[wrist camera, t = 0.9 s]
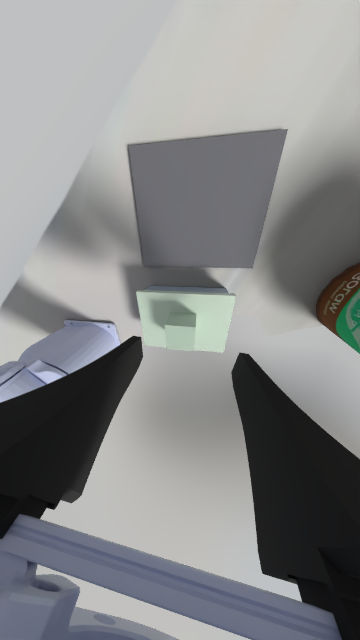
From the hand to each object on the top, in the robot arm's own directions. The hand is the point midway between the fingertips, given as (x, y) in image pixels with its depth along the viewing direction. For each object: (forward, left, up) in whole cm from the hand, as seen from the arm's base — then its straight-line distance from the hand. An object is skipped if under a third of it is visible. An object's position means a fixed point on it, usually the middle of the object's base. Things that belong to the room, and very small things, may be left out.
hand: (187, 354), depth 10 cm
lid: (-1, -1, -7) cm, 7 cm away
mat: (0, +10, -10) cm, 14 cm away
